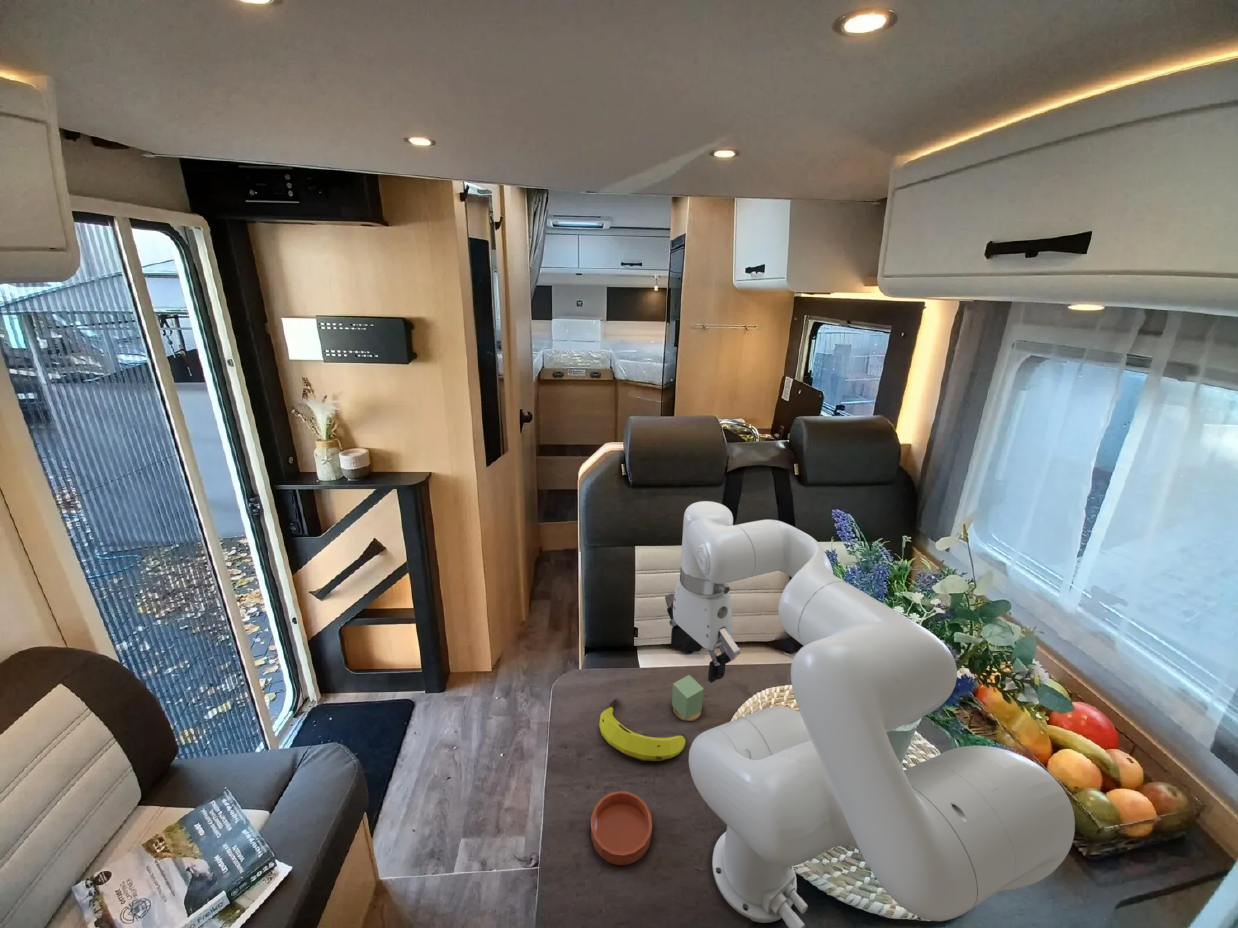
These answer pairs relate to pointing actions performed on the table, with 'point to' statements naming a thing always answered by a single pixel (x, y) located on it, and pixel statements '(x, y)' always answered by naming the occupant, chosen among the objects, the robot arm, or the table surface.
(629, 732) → the banana
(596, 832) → the bowl
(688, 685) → the block
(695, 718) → the mat
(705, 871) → the table surface
